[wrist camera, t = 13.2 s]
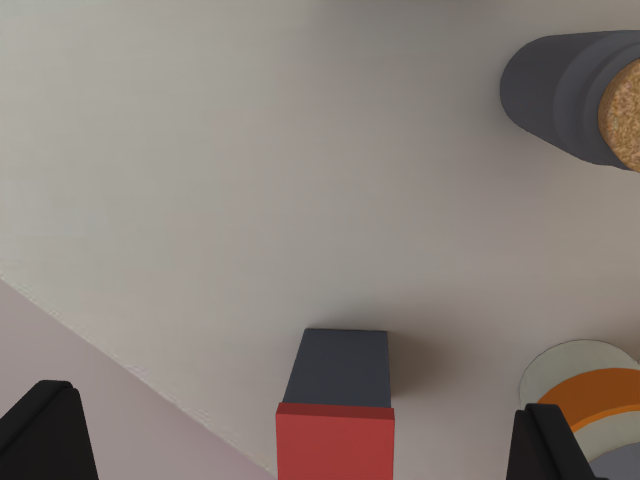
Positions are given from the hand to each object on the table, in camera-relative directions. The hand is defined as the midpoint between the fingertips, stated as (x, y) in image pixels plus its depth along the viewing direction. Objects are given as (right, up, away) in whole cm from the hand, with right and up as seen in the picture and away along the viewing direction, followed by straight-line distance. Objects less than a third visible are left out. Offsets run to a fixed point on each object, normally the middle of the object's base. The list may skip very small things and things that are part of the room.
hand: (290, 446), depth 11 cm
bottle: (+15, +14, +22) cm, 30 cm away
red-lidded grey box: (+2, -4, +23) cm, 24 cm away
